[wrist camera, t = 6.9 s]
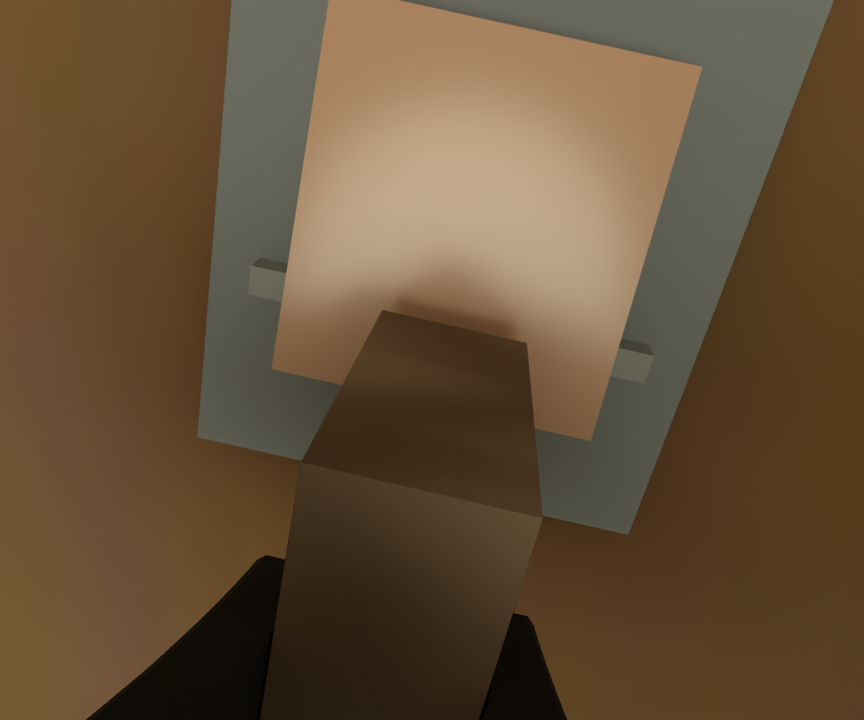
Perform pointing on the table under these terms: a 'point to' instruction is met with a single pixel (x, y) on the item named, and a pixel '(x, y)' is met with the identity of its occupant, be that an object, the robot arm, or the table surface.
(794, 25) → the mat
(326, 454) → the bar
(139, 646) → the table surface
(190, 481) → the table surface
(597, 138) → the tile
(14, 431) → the table surface
